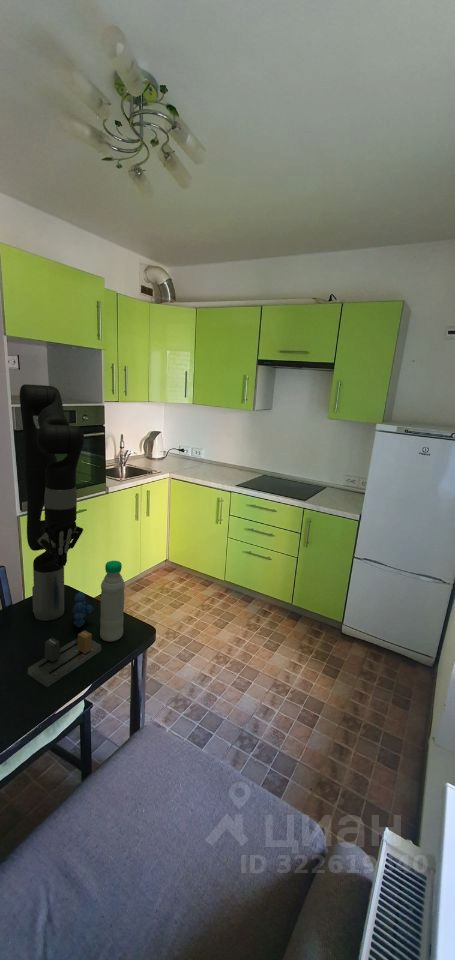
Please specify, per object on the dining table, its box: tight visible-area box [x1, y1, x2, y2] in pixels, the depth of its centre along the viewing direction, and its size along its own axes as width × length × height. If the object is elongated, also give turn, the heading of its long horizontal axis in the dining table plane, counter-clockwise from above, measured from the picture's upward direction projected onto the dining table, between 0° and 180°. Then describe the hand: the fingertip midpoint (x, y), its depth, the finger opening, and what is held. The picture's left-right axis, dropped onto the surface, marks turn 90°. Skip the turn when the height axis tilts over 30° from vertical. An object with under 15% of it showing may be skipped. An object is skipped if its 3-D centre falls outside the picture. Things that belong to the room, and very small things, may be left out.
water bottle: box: [99, 560, 126, 642], centre depth 120 cm, size 7×7×25 cm
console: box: [27, 637, 102, 688], centre depth 110 cm, size 8×18×2 cm, turn 150°
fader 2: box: [77, 630, 93, 654], centre depth 111 cm, size 3×2×5 cm
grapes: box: [71, 591, 95, 628], centre depth 125 cm, size 12×7×12 cm, turn 18°
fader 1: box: [44, 637, 61, 662], centre depth 107 cm, size 3×2×5 cm
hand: (60, 565), depth 103 cm, fingers closed
